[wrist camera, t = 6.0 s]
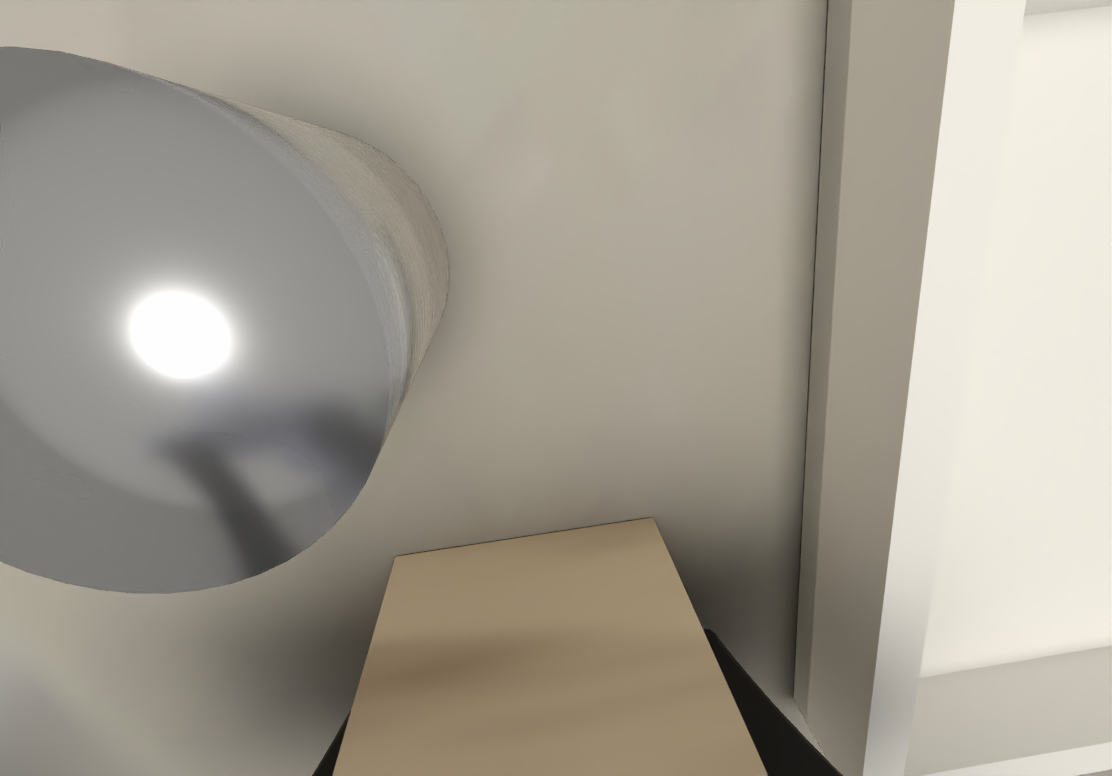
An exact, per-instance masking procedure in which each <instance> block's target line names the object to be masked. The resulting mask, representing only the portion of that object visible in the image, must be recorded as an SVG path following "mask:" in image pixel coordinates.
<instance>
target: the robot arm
mask: <svg viewBox="0 0 1112 776" xmlns="http://www.w3.org/2000/svg"><path fill="white" fill-rule="evenodd" d="M703 631H704V633H705V635H706V637H707V640H708V642H709V644H710V646H711V649H712V651H713V653H714V655H715V658H716V660H717V662H718V664H719V667H720V669H721V671H722V673H723V676H724V678H725V680H726V682H727V685H728V687H729V689H730V691H731V693H732V696H733V698H734V700H735V702H736V705H737V707H738V709H739V711H740V714H741V716H742V718H743V720H744V723H745V725H746V727H747V729H748V732H749V734H750V736H751V738H752V741H753V743H754V745H755V747H756V750H757V752H758V754H759V756H760V759H761V761H762V763H763V765H764V768H765V770H766V772H767V776H843V775H842V774H841V773H840V772H839V771H838V770H837V769H836V768H835V767H834V766H833V765H832V764H831V763H830V762H829V761H828V760H827V759H826V758H825V757H824V756H823V755H822V754H821V753H820V752H819V751H818V750H817V749H816V748H815V747H814V746H813V745H812V744H811V743H810V742H809V741H808V740H807V739H806V738H805V737H804V736H803V735H802V734H801V733H800V732H799V731H798V729H797V728H796V727H795V726H794V725H793V724H792V723H791V722H790V721H789V720H788V719H787V718H786V717H785V716H784V714H783V713H782V712H781V711H780V710H779V709H778V708H777V707H776V706H775V705H774V704H773V703H772V701H771V700H770V699H769V698H768V697H767V696H766V695H765V694H764V692H763V691H762V690H761V689H760V688H759V687H758V686H757V684H756V683H755V682H754V681H753V680H752V679H751V677H750V676H749V675H748V674H747V673H746V672H745V670H744V669H743V668H742V667H741V666H740V664H739V663H738V662H737V661H736V660H735V658H734V657H733V656H732V655H731V653H730V652H729V651H728V650H727V648H726V647H725V646H724V645H723V643H722V642H721V641H720V639H719V638H718V637H717V636H716V634H715V633H714V632H713V631H711V630H710V629H704V630H703ZM351 710H352V709H351ZM350 713H351V711H350ZM350 713H349V714H348V716H347V718H346V720H345V721H344V723H343V725H342V727H341V728H340V730H339V732H338V733H337V735H336V737H335V739H334V740H333V742H332V744H331V745H330V747H329V749H328V750H327V752H326V754H325V755H324V757H323V759H322V761H321V762H320V764H319V766H318V767H317V769H316V770H315V772H314V774H313V775H312V776H332V775H333V772H334V768H335V765H336V761H337V758H338V755H339V751H340V748H341V744H342V741H343V737H344V734H345V730H346V727H347V723H348V720H349V716H350Z"/></svg>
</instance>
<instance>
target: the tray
mask: <svg viewBox="0 0 1112 776" xmlns="http://www.w3.org/2000/svg"><path fill="white" fill-rule="evenodd" d="M794 701H795V703H796V704H797V706H798V708H799V710H800V712H801V713H802V715H803V717H804V719H805V721H806V722H807V724H808V726H809V728H810V729H811V731H812V733H813V735H814V737H815V738H816V740H817V742H818V744H819V745H820V747H821V749H822V751H823V753H824V754H825V756H826V758H827V760H828V761H829V762H830V763H831V764H832V765H833V766H834V767H835V768H836V769H837V770H838V771H839V772H840V773H841V774H842V775H843V776H1076V775H1082V774H1088V773H1093V772H1099V771H1105V770H1110V769H1112V0H829V4H828V24H827V44H826V64H825V84H824V104H823V124H822V144H821V164H820V183H819V203H818V223H817V243H816V263H815V283H814V303H813V323H812V343H811V363H810V383H809V403H808V423H807V443H806V463H805V482H804V502H803V522H802V542H801V562H800V582H799V602H798V622H797V642H796V662H795V682H794Z"/></svg>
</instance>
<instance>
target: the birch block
mask: <svg viewBox="0 0 1112 776" xmlns="http://www.w3.org/2000/svg"><path fill="white" fill-rule="evenodd" d="M332 776H767V772H766V770H765V768H764V765H763V763H762V761H761V759H760V756H759V754H758V752H757V750H756V747H755V745H754V743H753V741H752V738H751V736H750V734H749V732H748V729H747V727H746V725H745V723H744V720H743V718H742V716H741V714H740V711H739V709H738V707H737V705H736V702H735V700H734V698H733V696H732V693H731V691H730V689H729V687H728V685H727V682H726V680H725V678H724V676H723V673H722V671H721V669H720V667H719V664H718V662H717V660H716V658H715V655H714V653H713V651H712V649H711V646H710V644H709V642H708V640H707V637H706V635H705V633H704V631H703V628H702V626H701V624H700V622H699V619H698V617H697V615H696V613H695V610H694V608H693V606H692V604H691V601H690V599H689V597H688V595H687V593H686V590H685V588H684V586H683V584H682V581H681V579H680V577H679V575H678V572H677V570H676V568H675V566H674V563H673V561H672V559H671V557H670V554H669V552H668V550H667V548H666V545H665V543H664V541H663V539H662V536H661V534H660V532H659V530H658V527H657V525H656V523H655V521H654V518H653V517H652V518H646V519H639V520H633V521H626V522H620V523H613V524H607V525H600V526H593V527H587V528H580V529H574V530H567V531H561V532H554V533H547V534H541V535H534V536H528V537H521V538H515V539H508V540H502V541H495V542H488V543H482V544H475V545H469V546H462V547H456V548H449V549H442V550H436V551H429V552H423V553H416V554H410V555H403V556H397V557H395V560H394V564H393V567H392V571H391V574H390V578H389V581H388V585H387V588H386V592H385V595H384V599H383V602H382V606H381V609H380V612H379V616H378V619H377V623H376V626H375V630H374V633H373V637H372V640H371V644H370V647H369V651H368V654H367V658H366V661H365V664H364V668H363V671H362V675H361V678H360V682H359V685H358V689H357V692H356V696H355V699H354V703H353V706H352V710H351V713H350V716H349V720H348V723H347V727H346V730H345V734H344V737H343V741H342V744H341V748H340V751H339V755H338V758H337V761H336V765H335V768H334V772H333V775H332Z"/></svg>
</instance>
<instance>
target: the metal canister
mask: <svg viewBox="0 0 1112 776" xmlns="http://www.w3.org/2000/svg"><path fill="white" fill-rule="evenodd" d="M448 289H449V260H448V251H447V247H446V243H445V239H444V235H443V232H442V229H441V227H440V224H439V222H438V219H437V217H436V215H435V213H434V211H433V209H432V207H431V205H430V204H429V202H428V200H427V199H426V197H425V196H424V194H423V193H422V192H421V190H420V189H419V187H418V186H417V185H416V184H415V182H414V181H413V180H412V179H411V178H410V177H409V176H408V175H407V174H406V172H405V171H404V170H402V169H401V168H400V167H399V166H398V165H397V164H396V163H394V162H393V161H392V160H391V159H390V158H388V157H387V156H385V155H384V154H382V153H381V152H380V151H378V150H377V149H375V148H374V147H372V146H370V145H368V144H366V143H364V142H362V141H360V140H358V139H356V138H353V137H351V136H348V135H345V134H342V133H340V132H337V131H333V130H330V129H327V128H323V127H320V126H317V125H313V124H310V123H307V122H303V121H300V120H297V119H294V118H290V117H287V116H284V115H280V114H277V113H274V112H270V111H267V110H264V109H260V108H257V107H254V106H250V105H247V104H244V103H240V102H237V101H234V100H231V99H227V98H224V97H221V96H217V95H214V94H211V93H207V92H204V91H201V90H197V89H194V88H191V87H187V86H184V85H181V84H177V83H174V82H171V81H168V80H164V79H161V78H158V77H154V76H151V75H148V74H144V73H141V72H138V71H134V70H131V69H128V68H124V67H121V66H118V65H114V64H111V63H108V62H103V61H99V60H95V59H91V58H86V57H82V56H78V55H73V54H69V53H65V52H60V51H51V50H41V49H31V48H21V47H0V562H3V563H5V564H8V565H10V566H13V567H15V568H18V569H21V570H23V571H26V572H28V573H31V574H35V575H38V576H42V577H45V578H49V579H52V580H56V581H59V582H63V583H67V584H72V585H77V586H82V587H87V588H92V589H98V590H105V591H116V592H126V593H177V592H187V591H197V590H203V589H208V588H213V587H218V586H222V585H227V584H231V583H234V582H237V581H240V580H243V579H246V578H250V577H253V576H256V575H259V574H261V573H263V572H265V571H267V570H269V569H271V568H274V567H276V566H278V565H280V564H282V563H284V562H286V561H288V560H289V559H291V558H292V557H294V556H296V555H297V554H299V553H300V552H302V551H303V550H305V549H306V548H308V547H310V546H311V545H312V544H313V543H314V542H316V541H317V540H318V539H319V538H320V537H321V536H323V535H324V534H325V533H326V532H327V531H329V530H330V529H331V528H332V527H333V526H334V525H335V524H336V522H337V521H338V520H339V519H340V518H341V517H342V516H343V514H344V513H345V512H346V511H347V510H348V509H349V508H350V506H351V505H352V503H353V502H354V500H355V499H356V497H357V496H358V494H359V493H360V491H361V489H362V488H363V486H364V485H365V483H366V481H367V479H368V477H369V475H370V473H371V470H372V468H373V466H374V464H375V462H376V459H377V457H378V455H379V453H380V451H381V449H382V446H383V444H384V442H385V440H386V438H387V435H388V433H389V431H390V429H391V427H392V424H393V422H394V420H395V418H396V416H397V414H398V411H399V409H400V407H401V405H402V403H403V400H404V398H405V396H406V394H407V392H408V389H409V387H410V385H411V383H412V381H413V379H414V376H415V374H416V372H417V370H418V368H419V365H420V363H421V361H422V359H423V357H424V355H425V352H426V350H427V348H428V346H429V344H430V341H431V339H432V337H433V335H434V333H435V330H436V328H437V326H438V324H439V322H440V319H441V317H442V315H443V311H444V308H445V305H446V301H447V296H448Z"/></svg>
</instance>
